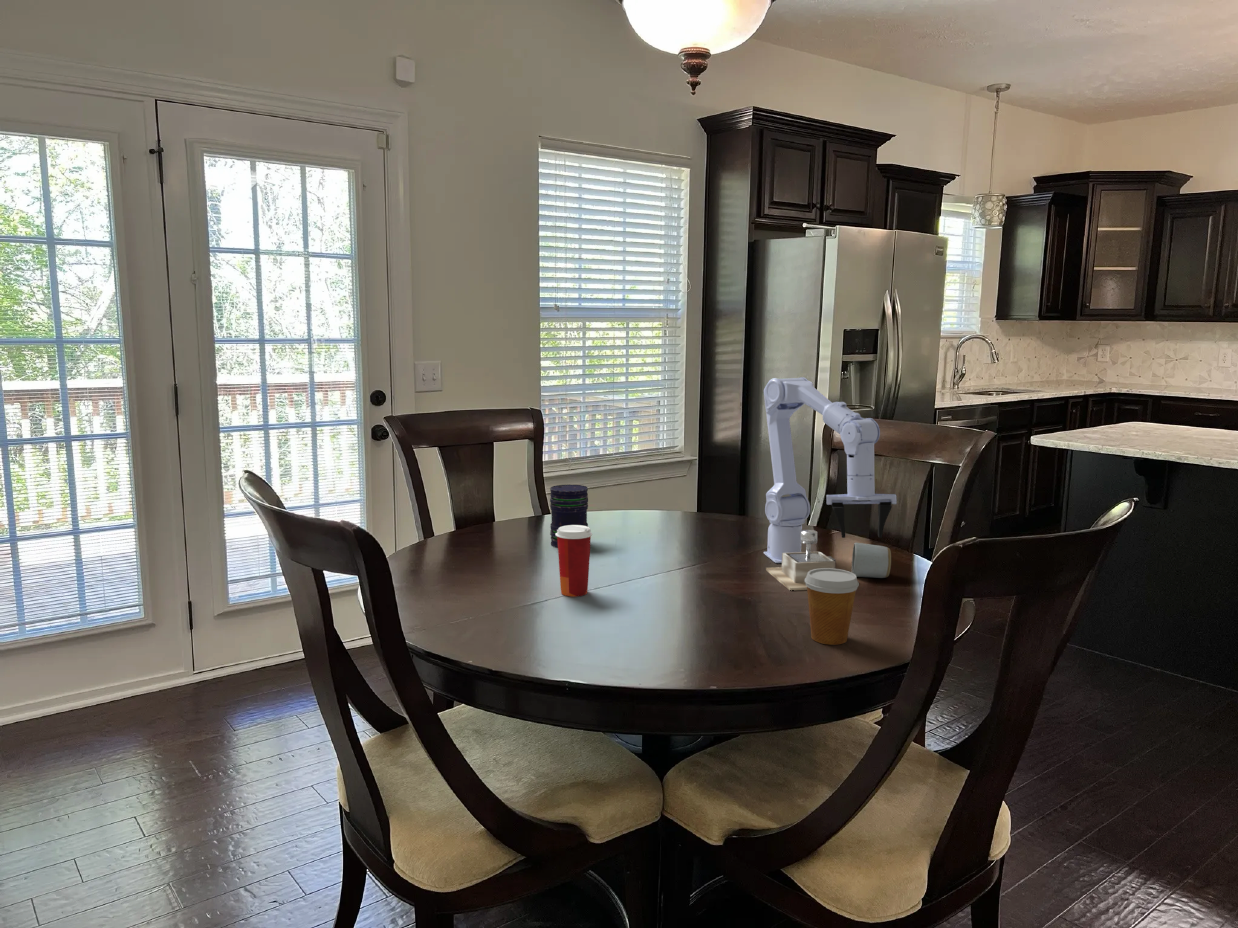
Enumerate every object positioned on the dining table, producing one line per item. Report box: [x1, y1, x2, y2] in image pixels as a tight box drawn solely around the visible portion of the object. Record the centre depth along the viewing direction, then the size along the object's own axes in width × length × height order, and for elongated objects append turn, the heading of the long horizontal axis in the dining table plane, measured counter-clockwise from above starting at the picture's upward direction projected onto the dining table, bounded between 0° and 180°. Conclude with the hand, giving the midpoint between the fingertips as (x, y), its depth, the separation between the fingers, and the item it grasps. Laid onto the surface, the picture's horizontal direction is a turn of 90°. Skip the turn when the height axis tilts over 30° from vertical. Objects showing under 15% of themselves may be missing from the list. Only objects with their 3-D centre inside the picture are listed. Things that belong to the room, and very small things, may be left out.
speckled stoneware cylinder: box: [851, 542, 892, 579], centre depth 196 cm, size 11×8×8 cm
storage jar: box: [549, 484, 589, 549], centre depth 223 cm, size 10×10×15 cm
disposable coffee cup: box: [805, 568, 860, 646], centre depth 155 cm, size 10×10×12 cm
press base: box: [765, 551, 837, 591], centre depth 193 cm, size 16×14×5 cm
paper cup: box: [555, 525, 593, 598], centre depth 181 cm, size 8×8×14 cm
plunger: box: [789, 529, 827, 562], centre depth 192 cm, size 7×7×6 cm
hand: (861, 537), depth 187 cm, fingers open, 7 cm apart
